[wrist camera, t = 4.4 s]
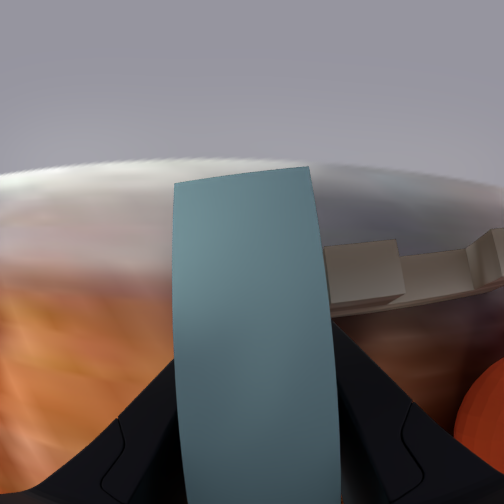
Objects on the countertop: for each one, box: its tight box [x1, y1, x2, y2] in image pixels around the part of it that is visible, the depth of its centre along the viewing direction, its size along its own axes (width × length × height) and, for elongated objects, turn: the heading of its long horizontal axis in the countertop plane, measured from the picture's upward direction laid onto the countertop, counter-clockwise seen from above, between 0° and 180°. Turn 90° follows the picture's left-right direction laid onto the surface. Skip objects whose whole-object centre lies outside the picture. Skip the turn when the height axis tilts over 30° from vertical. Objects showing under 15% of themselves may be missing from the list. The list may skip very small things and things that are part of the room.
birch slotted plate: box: [323, 228, 504, 318], centre depth 13 cm, size 2×10×5 cm, turn 94°
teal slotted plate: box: [172, 166, 341, 504], centre depth 9 cm, size 8×2×11 cm, turn 4°
